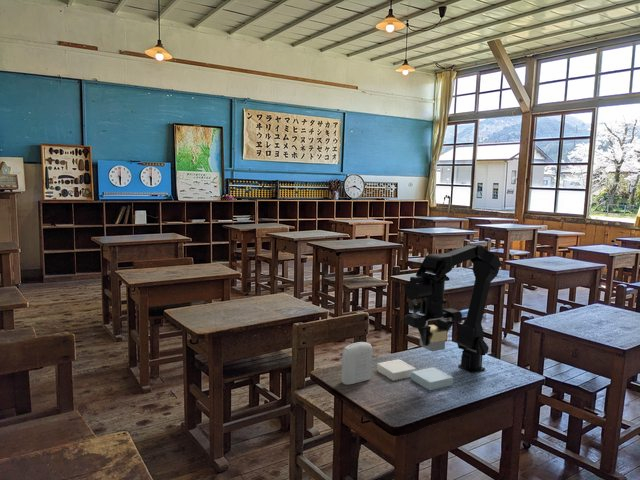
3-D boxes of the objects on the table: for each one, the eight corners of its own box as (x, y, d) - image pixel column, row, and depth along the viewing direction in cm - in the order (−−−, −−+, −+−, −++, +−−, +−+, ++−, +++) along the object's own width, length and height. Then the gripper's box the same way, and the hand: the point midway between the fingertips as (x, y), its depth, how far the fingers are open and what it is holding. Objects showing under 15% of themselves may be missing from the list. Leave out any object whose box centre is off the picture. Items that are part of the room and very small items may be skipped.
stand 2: (433, 374, 159) (433, 367, 158) (452, 385, 151) (452, 377, 150) (411, 379, 154) (411, 371, 154) (429, 390, 147) (430, 382, 146)
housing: (446, 349, 150) (447, 330, 149) (431, 352, 147) (432, 333, 147) (432, 342, 156) (432, 324, 155) (418, 345, 153) (419, 326, 152)
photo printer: (364, 375, 157) (366, 338, 156) (373, 379, 154) (374, 342, 152) (339, 381, 152) (340, 343, 150) (347, 386, 148) (348, 347, 146)
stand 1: (398, 366, 165) (399, 359, 165) (415, 375, 157) (415, 368, 157) (377, 370, 161) (377, 363, 161) (393, 380, 153) (393, 373, 153)
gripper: (440, 287, 161) (438, 332, 163) (394, 292, 152) (392, 340, 154) (464, 294, 151) (461, 342, 153) (416, 301, 142) (414, 352, 144)
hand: (432, 344), depth 151 cm, fingers closed on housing, 5 cm apart
